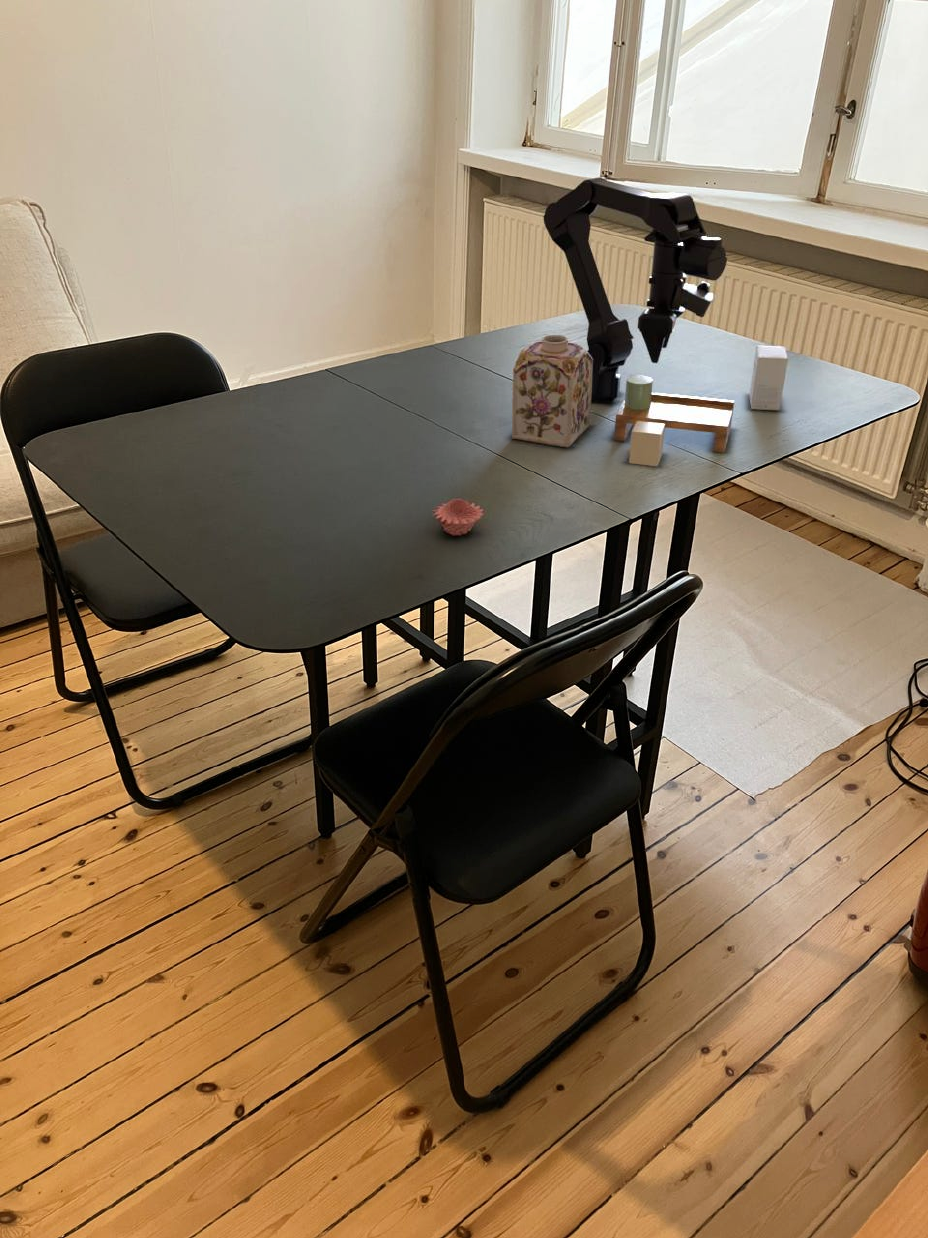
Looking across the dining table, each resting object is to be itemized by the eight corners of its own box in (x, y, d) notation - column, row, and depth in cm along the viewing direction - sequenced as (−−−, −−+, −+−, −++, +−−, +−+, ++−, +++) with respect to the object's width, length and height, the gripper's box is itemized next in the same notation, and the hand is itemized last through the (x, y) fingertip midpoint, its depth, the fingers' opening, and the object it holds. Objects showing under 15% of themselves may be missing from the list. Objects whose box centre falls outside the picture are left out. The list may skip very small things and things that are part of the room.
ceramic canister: (622, 408, 185) (624, 382, 182) (627, 399, 189) (629, 374, 186) (648, 411, 184) (650, 385, 181) (652, 402, 187) (655, 376, 185)
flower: (460, 516, 160) (460, 484, 157) (494, 533, 155) (494, 501, 152) (422, 531, 156) (421, 499, 153) (455, 550, 151) (455, 517, 148)
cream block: (629, 463, 177) (631, 431, 173) (634, 452, 180) (636, 420, 177) (657, 466, 175) (660, 434, 172) (661, 455, 179) (665, 423, 176)
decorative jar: (591, 426, 191) (596, 332, 181) (570, 449, 182) (575, 351, 172) (532, 417, 195) (535, 325, 185) (509, 439, 186) (510, 343, 176)
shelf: (613, 440, 185) (616, 410, 182) (624, 418, 194) (627, 389, 191) (724, 452, 180) (728, 422, 177) (730, 430, 189) (734, 400, 185)
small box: (779, 411, 196) (788, 358, 191) (750, 409, 197) (758, 357, 191) (777, 397, 203) (785, 345, 197) (748, 395, 204) (756, 344, 198)
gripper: (705, 286, 171) (694, 375, 179) (719, 261, 186) (709, 344, 194) (640, 281, 174) (633, 369, 183) (659, 256, 189) (651, 338, 197)
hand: (659, 354), depth 189 cm, fingers open, 9 cm apart
